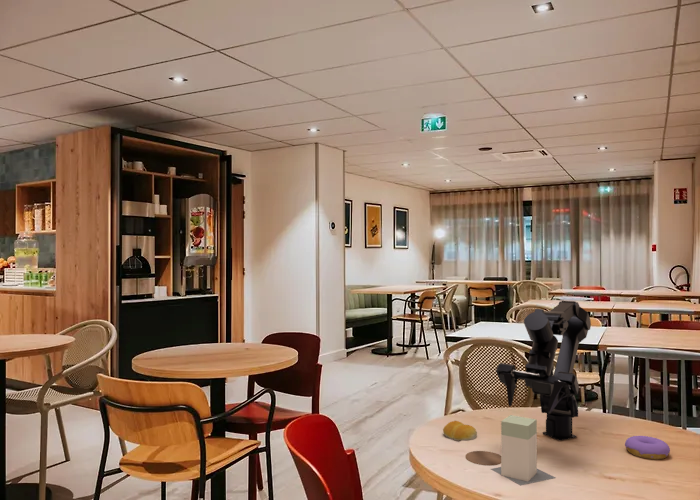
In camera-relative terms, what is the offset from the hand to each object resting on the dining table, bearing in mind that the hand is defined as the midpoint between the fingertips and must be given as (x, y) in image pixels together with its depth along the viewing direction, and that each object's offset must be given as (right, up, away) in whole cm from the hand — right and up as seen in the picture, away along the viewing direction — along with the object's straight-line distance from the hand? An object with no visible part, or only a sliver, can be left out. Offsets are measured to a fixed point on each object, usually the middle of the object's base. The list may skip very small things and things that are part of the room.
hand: (528, 409), depth 131 cm
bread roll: (-12, -14, +21) cm, 28 cm away
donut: (+32, -14, +8) cm, 36 cm away
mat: (-3, -13, -6) cm, 15 cm away
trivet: (-10, -13, +3) cm, 17 cm away
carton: (-4, -13, -7) cm, 15 cm away
